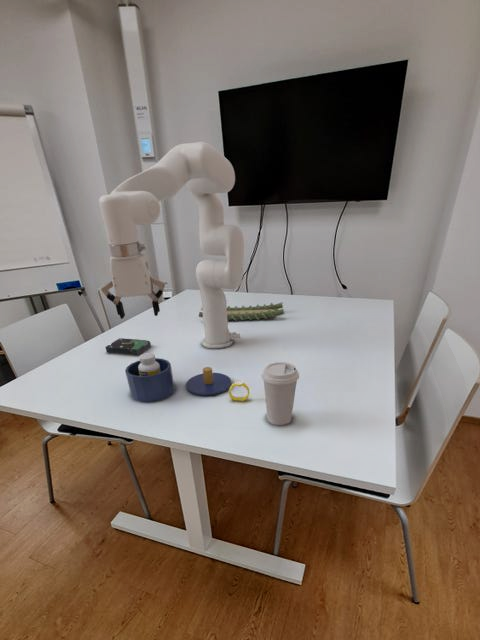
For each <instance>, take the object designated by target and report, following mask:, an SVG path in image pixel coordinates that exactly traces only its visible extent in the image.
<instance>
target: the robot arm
mask: <svg viewBox="0 0 480 640" xmlns="http://www.w3.org/2000/svg"><path fill="white" fill-rule="evenodd" d="M234 169H235V168H234V167H233V165H232V163H231V162H230V160H229V159H227V158H226V157H225V155H223V153H221V152H220V150H218V149H217V148H215V147H214V146H213V145H212V144H210V143H208V142H205V141H198V142H197V141H196V142H188V143H180V144H176V145H175V146H174V147H172V148H171V149H170V150H168V152H167V153H166V154H165V155H163V156H162V157H161V158H160V160H158V161H157V162H156V163H154V164H153V165H152V166H151V167H148V168H146V169H144V170H143V171H141V172H139V173H137V174H134V175H133V176H131V177H129V178H127V179H125V180H124V181H122V182H121V183H120V184H118V185H117V186H116V187H115V188H114V189H113V190H112V191H111V192H110V194H104V195H101V196H100V197H99V199H98V204H99V205H98V206H99V209H100V214H101V218H102V221H103V224H104V230H105V234H106V238H107V243H108V246H109V252H110V255H111V256H110V257H109V268H110V276H111V281H109V282H108V283H107V284H105V285H104V286H102V288H101V289H100V291H101V292H102V293H103V294H104V296H106V298H107V300H109V301H110V302H112V304H114V305H115V308H116V309H115V310H116V313H117V315H118V316H119V318H120V319H121V320H123V319H124V318H125V316H126V313H125V310H124V309H125V308H124V304H123V301H121V299H122V298H131V297H143V296H144V297H145V296H148V297H149V298H150V299H152V302H151V304H152V309H153V315H154V316H155V317H158V314H159V313H160V311H161V309H160V304H159V299H160V298H161V296H162V295H163V293H164V290H165V287H166V283H165V282H164V281H161V280H159V279H157V278H154V277H153V276H152V274H151V271H150V266H149V263H148V261H147V258H146V255H145V253H142V252H143V251H146V250H147V248H146V244H145V243H141V242H140V241H139V240H140V239H139V236H138V231H137V226H148V225H153V224H154V223H156V221H158V220H159V217H160V215H161V205H160V202H164V201H166V200H169V199H172V198H174V197H175V196H176V195H177V194H178V193H179V192H180V190H181V189H182V188H184V186H186V188H187V189H188V191H189V192H190V194H191V196H192V197H193V198H194V201H195V202H196V206H197V209H198V220H199V222H198V223H199V225H198V227H199V228H198V229H199V247H200V250H201V252H202V253H203V254H205V255H208V256H224V257H225V258H226V259H216V258H215V259H214V258H213V259H212V258H208V259H203V260H201V261H200V262H198V263H197V266H196V267H195V277H196V281H197V285H198V288H199V293H200V299H201V308H202V310H201V312H203V317H202V318H203V319H202V321H203V330H204V338H203V339H202V340H201V344H202V347H204V348H207V349H216V350H217V349H223V348H227V347H230V346H232V344H233V342H234V340H233V339H241V334H240V333H237V332H231V331H230V330H229V323H228V322H229V321H228V320H227V307H228V306H227V297H226V294H225V292H224V290H223V289H229V290H234V289H238V288H239V287H240V286H241V285H242V282H243V277H244V276H243V275H244V254H245V253H244V252H245V251H244V250H245V241H244V239H245V238H244V235H243V232H242V230H241V228H240V227H239V226H237V225H234V224H225V222H224V221H225V220H224V215H225V214H224V206H223V204H222V202H221V200H220V198H219V196H218V195H217V194H226V193H229V192H230V191H232V189H233V188H234V186H235V183H236V173H235V170H234ZM154 285H155V286H157V287H158V290H157V291H156V292H155V291H154ZM111 288H113V292H114V294H115V295H114V294H112V293H111V292H110V290H111Z"/></svg>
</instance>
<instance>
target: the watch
mask: <svg viewBox="0 0 480 640" xmlns="http://www.w3.org/2000/svg"><path fill="white" fill-rule="evenodd" d="M233 387H237V388H240V387H243V388H245V389H246V391H247V394H246V396H244V397H235V396H234V395H233V394H232V391H231V390H232V388H233ZM228 395H229V397H230V399H232V400H233V401H238V402H244V401H247V399H248V398H249V396H250V387H249V386H248V385H247V384H246V383H245V382H244V380H242V379H241V380H239V379H238V380H234V383H231V386H230V387H229V388H228Z"/></svg>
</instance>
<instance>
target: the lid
mask: <svg viewBox="0 0 480 640" xmlns="http://www.w3.org/2000/svg"><path fill="white" fill-rule="evenodd" d="M231 385H232V379H231V378H230V377H229V376H228V375H226V374H224V373H222V372H213V368H212V367H211V366H205V367H203V368H202V373H200V374H196V375H194V376H192V377H190V378H189V379H188V380H187V381H186V384H185V386H186V387H185V388H186V389H187V390H188V391H189V392H190V393H191V394H194V395H200V396H212V395H217V394H221V393H223V392H225V391H227V390H229V388H230V386H231Z"/></svg>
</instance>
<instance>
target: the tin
mask: <svg viewBox="0 0 480 640" xmlns="http://www.w3.org/2000/svg"><path fill="white" fill-rule="evenodd" d="M155 361H156V362H158V363H159V365H160V370H161V372H160V373H158V374H154V375H150V376H140V374H139V369H138V366H139V364H140V363H141V362H140V359H139V360H136V361H134V362H132V363H130V364H129V365H127V366H126V367H125V370H124V371H125V377H126V380H127V384H128V389H129V393H130V396H131V398H132V399H134V400H135V401H137V402H141V403H153V402H160V401H162V400H165V399H167V398H169V397H170V396H171V395H173V393H174V392H175V381H174V375H173V370H172V364H171V362H170V361H169V360H167V359H164V358H158V357H155Z"/></svg>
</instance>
